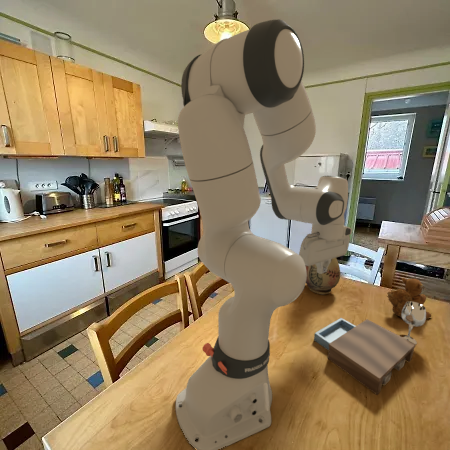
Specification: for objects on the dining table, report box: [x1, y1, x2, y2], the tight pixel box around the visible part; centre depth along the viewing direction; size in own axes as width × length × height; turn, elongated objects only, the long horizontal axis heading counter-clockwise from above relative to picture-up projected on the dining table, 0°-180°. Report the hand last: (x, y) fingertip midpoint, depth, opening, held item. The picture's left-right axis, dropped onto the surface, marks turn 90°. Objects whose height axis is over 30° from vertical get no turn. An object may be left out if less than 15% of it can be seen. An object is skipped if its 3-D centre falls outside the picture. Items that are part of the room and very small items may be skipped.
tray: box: [313, 317, 357, 351], centre depth 70 cm, size 14×18×2 cm
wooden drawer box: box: [327, 318, 417, 396], centre depth 66 cm, size 20×13×5 cm, turn 123°
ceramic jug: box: [305, 257, 341, 296], centre depth 100 cm, size 17×15×30 cm
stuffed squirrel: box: [386, 277, 432, 320], centre depth 86 cm, size 10×14×13 cm
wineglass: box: [399, 301, 427, 345], centre depth 73 cm, size 6×6×12 cm
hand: (321, 272), depth 76 cm, fingers closed
